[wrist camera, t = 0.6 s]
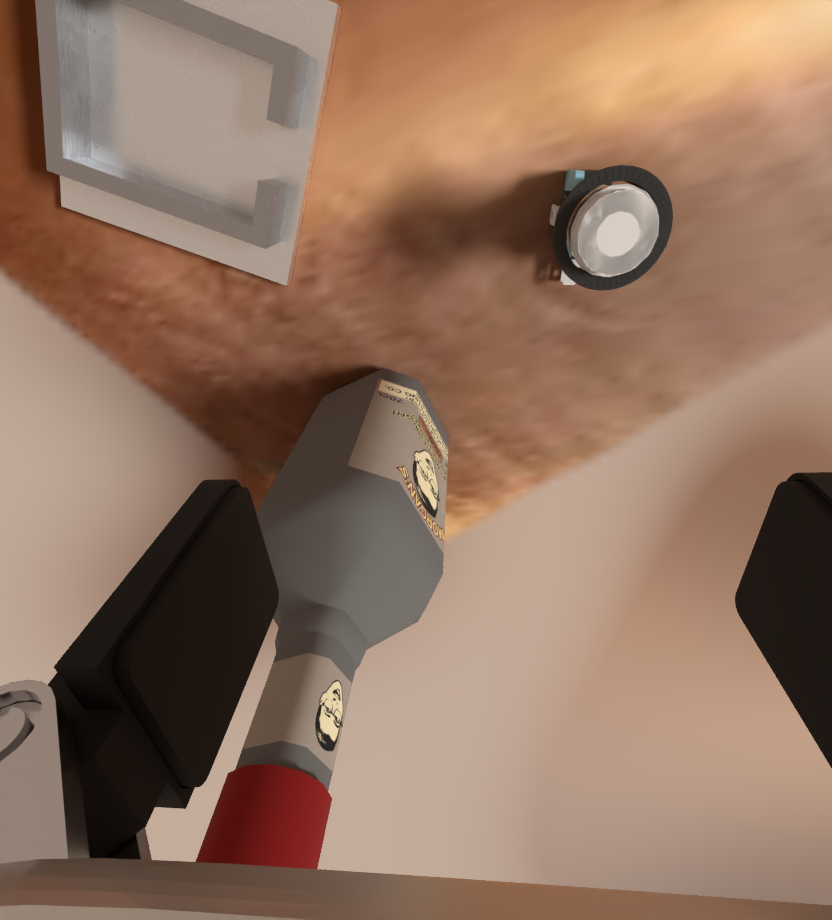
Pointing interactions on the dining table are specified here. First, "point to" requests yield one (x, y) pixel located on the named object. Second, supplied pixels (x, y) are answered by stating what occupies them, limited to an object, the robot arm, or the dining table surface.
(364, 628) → the liquor
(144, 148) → the plate
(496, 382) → the dining table surface
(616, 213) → the push button
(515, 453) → the dining table surface
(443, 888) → the robot arm
